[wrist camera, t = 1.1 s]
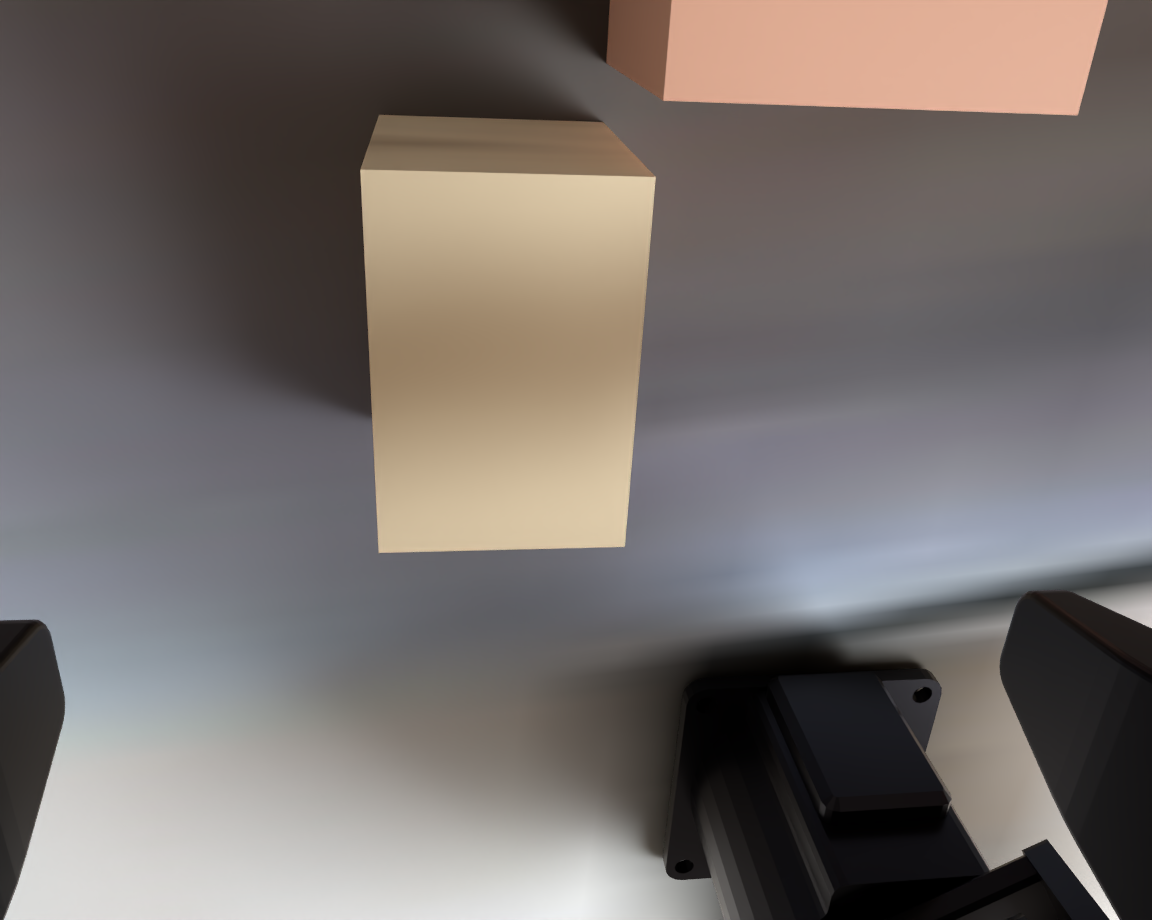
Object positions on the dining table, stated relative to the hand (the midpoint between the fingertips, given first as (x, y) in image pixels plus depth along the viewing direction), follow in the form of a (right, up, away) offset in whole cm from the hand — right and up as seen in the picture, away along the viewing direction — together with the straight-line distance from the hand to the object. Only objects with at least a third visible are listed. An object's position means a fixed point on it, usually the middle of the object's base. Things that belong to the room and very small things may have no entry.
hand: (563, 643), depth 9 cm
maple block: (-2, +5, +10) cm, 11 cm away
